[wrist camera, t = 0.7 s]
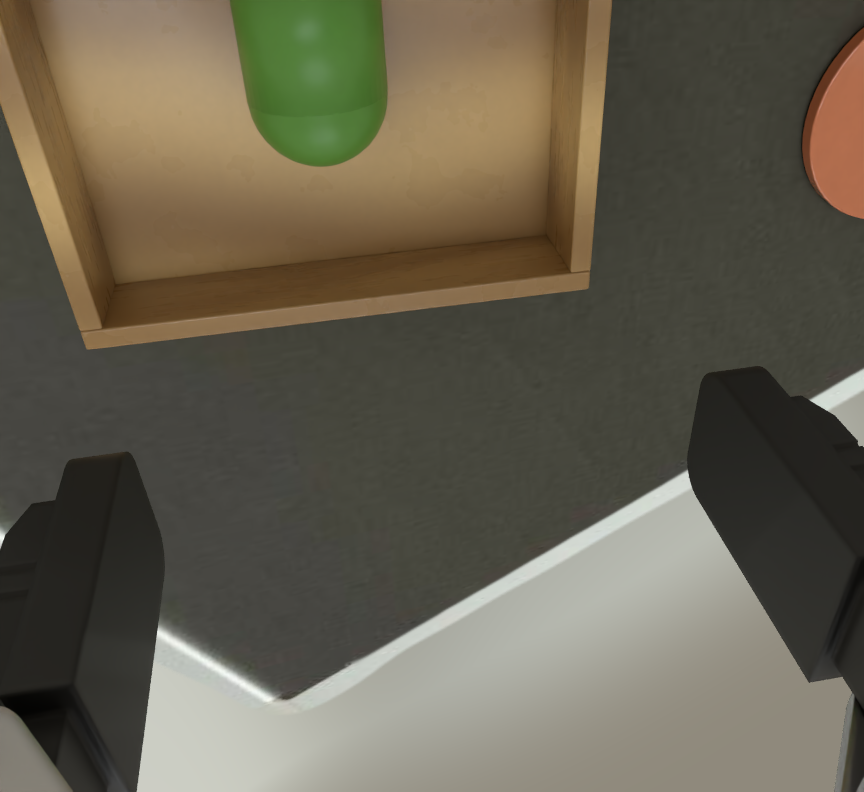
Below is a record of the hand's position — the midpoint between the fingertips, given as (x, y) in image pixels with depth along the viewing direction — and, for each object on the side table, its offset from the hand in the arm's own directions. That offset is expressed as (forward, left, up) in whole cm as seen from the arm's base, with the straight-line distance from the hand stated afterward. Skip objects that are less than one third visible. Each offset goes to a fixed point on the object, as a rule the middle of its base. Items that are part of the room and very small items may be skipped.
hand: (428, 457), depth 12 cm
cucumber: (-2, -1, -17) cm, 18 cm away
